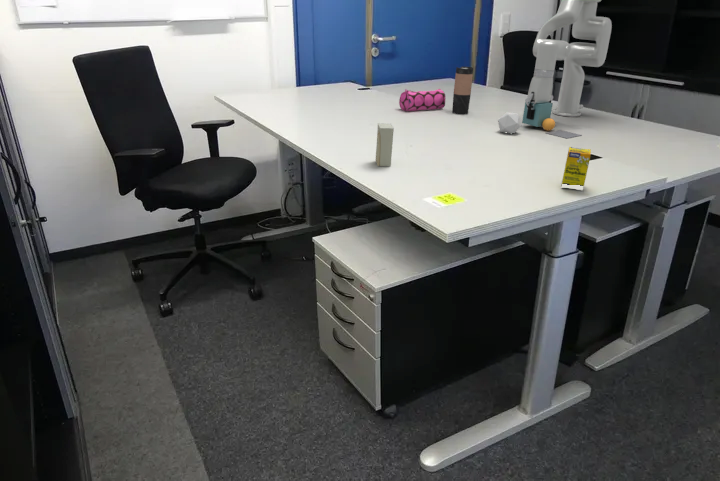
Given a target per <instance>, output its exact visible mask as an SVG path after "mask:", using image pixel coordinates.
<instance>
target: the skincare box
mask: <svg viewBox="0 0 720 481" xmlns="http://www.w3.org/2000/svg"><path fill="white" fill-rule="evenodd" d="M394 129H395V128H394V126H393V124H392V123H380V122H379V123H377V132H376V134H377V135H376V136H377V137H376V147H375V163H376V165H377V167H391V166H392V152H393V141H394Z"/></svg>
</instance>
